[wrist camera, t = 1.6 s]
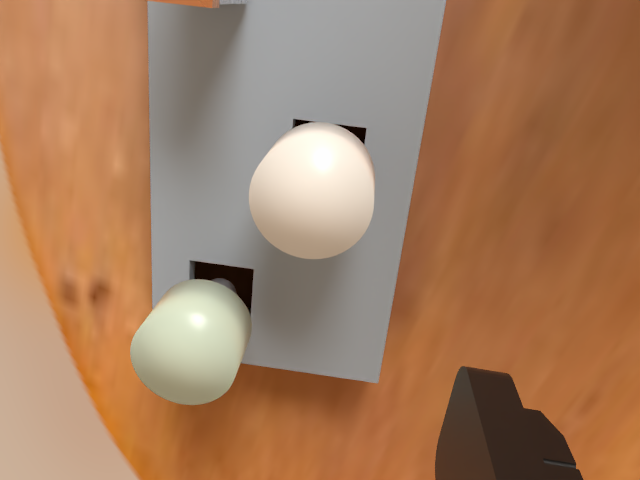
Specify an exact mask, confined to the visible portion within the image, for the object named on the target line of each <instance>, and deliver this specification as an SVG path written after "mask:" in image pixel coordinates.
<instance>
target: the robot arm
mask: <svg viewBox="0 0 640 480" xmlns="http://www.w3.org/2000/svg"><path fill="white" fill-rule="evenodd" d="M435 478H436V480H583V478H582V476H581V473H580V471H579V470H578V469H576V462H575V460H574V458H573V456H572V454H571V451H570V449H569V447H568V445H567V442H566V440H565V438H564V436H563V435H562V434H561V433H560V432H559V431H558V430H557V429H556V427H555V426H554V425H553V424H552V423H551V422H550V421H549V420H548V419H547V418H546V417H545V416H544V415H543V414H542V412H541V411H538V410H532V409H526V408H523V406H522V403H521V400H520V398H519V395H518V393H517V390H516V387H515V385H514V382H513V380H512V377H511V376H510V375H509V374H507V373H501V372H495V371H489V370H483V369H477V368H471V367H465V366H462V367H461V368H460V369H459V371H458V373H457V376H456V379H455V382H454V386H453V390H452V393H451V397H450V400H449V404H448V407H447V411H446V414H445V418H444V422H443V425H442V429H441V432H440V436H439V440H438V444H437V450H436V461H435Z"/></svg>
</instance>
